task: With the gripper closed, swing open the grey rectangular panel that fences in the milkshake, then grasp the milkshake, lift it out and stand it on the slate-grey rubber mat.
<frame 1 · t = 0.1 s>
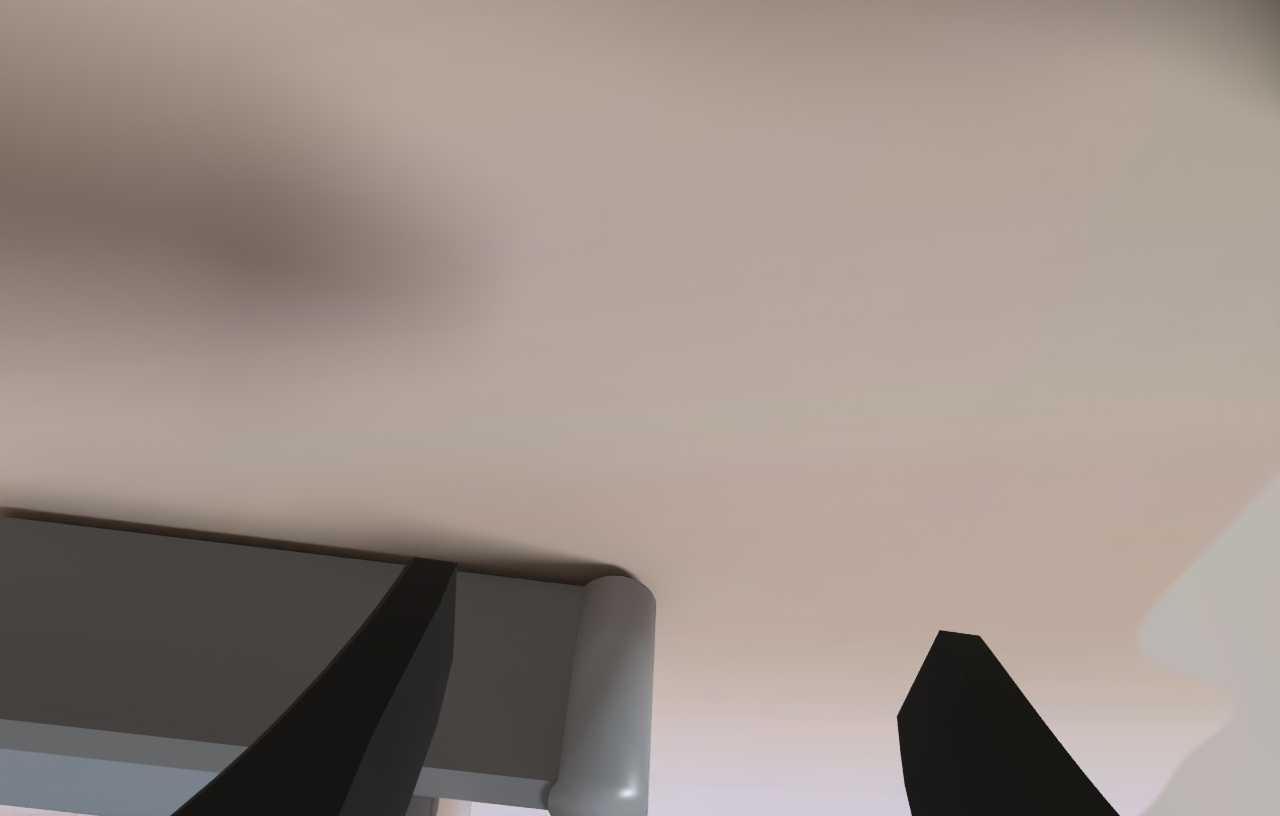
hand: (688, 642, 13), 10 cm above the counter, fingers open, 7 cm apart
mat: (142, 702, 31), on the counter
milkshake: (455, 658, 29), on the counter
grey rectangular panel: (286, 657, 23), point 4 cm above the counter, hinge at 0.0°
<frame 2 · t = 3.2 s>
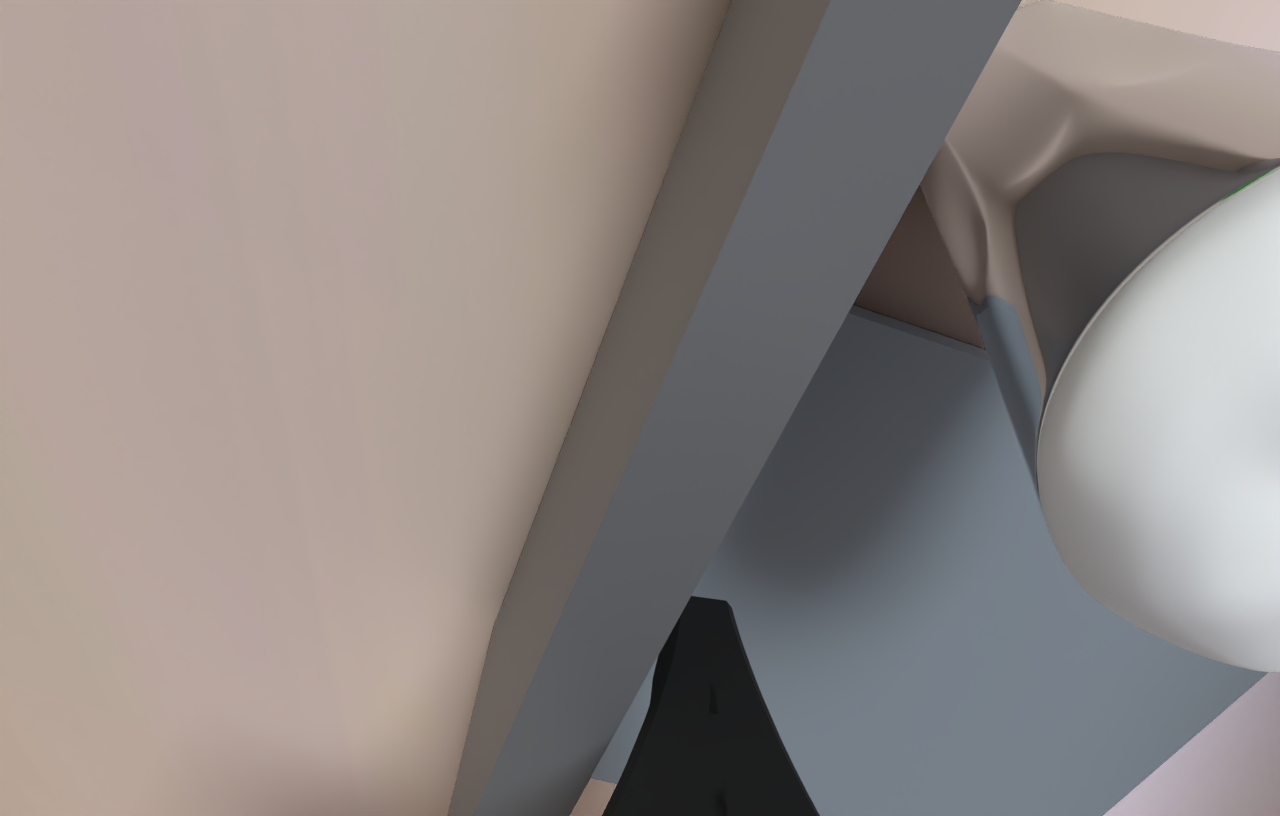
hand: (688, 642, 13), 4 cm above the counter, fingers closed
mat: (916, 642, 19), on the counter
milkshake: (1037, 91, 13), on the counter
grey rectangular panel: (680, 340, 11), point 4 cm above the counter, hinge at 0.7°, touching gripper
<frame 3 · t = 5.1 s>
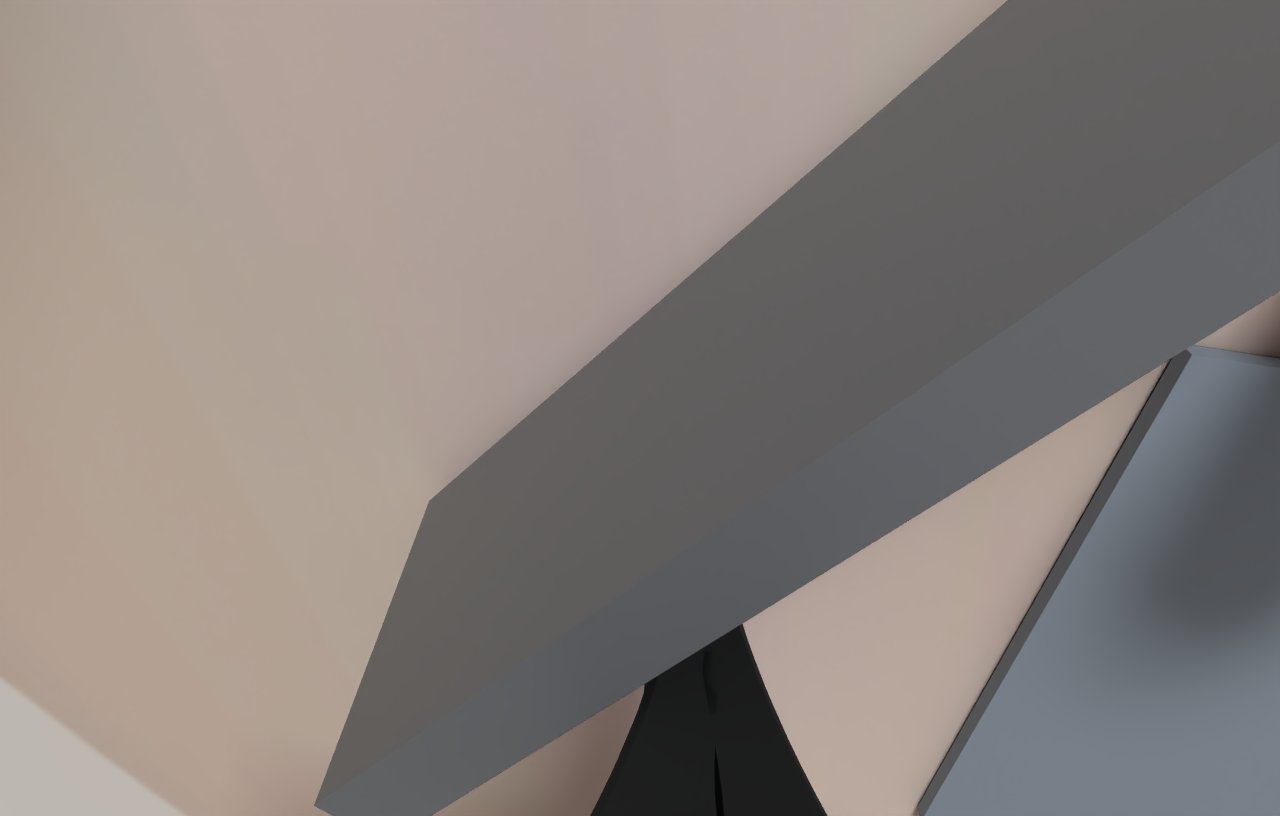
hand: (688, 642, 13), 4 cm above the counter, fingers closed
grey rectangular panel: (905, 270, 10), point 4 cm above the counter, hinge at 36.8°, touching gripper
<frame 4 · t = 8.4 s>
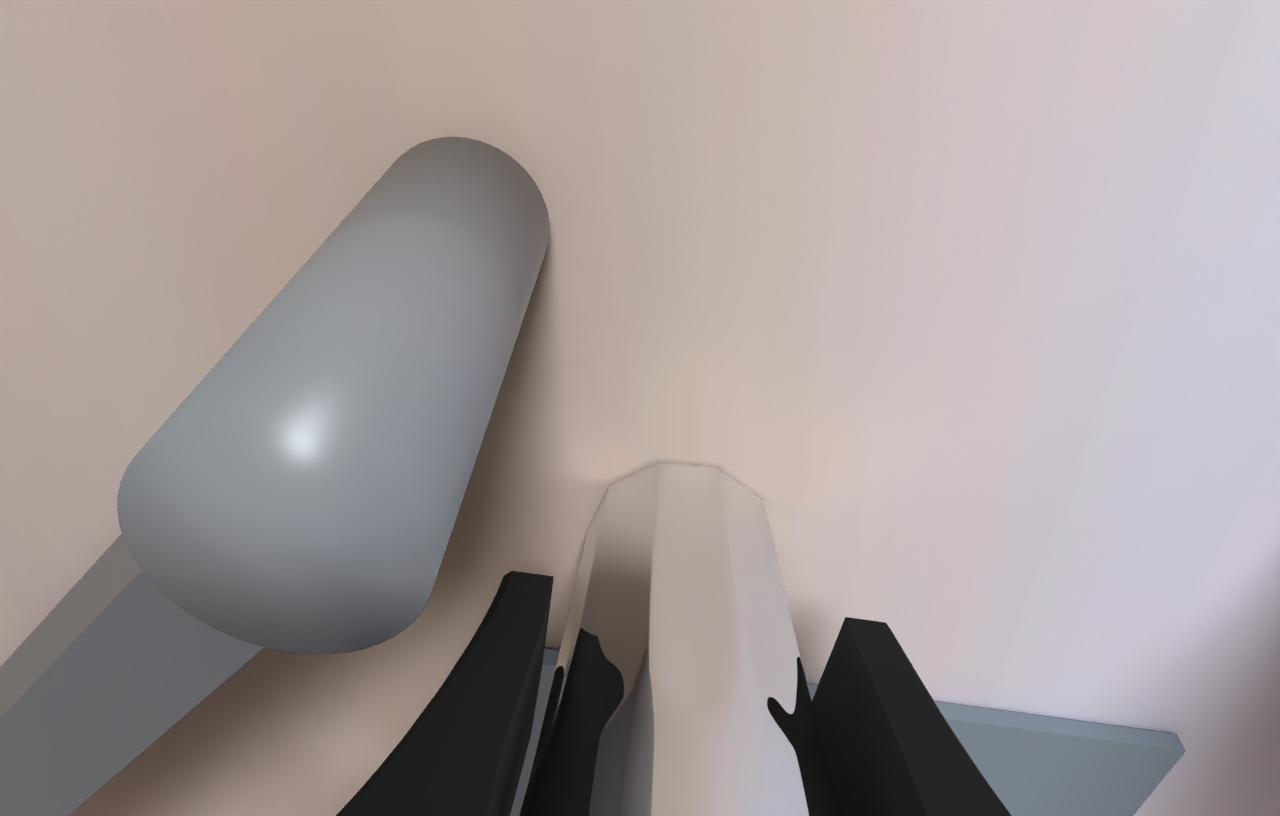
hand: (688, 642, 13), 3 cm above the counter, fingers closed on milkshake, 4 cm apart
milkshake: (689, 507, 16), on the counter, touching gripper
grey rectangular panel: (54, 687, 13), point 4 cm above the counter, hinge at 36.8°
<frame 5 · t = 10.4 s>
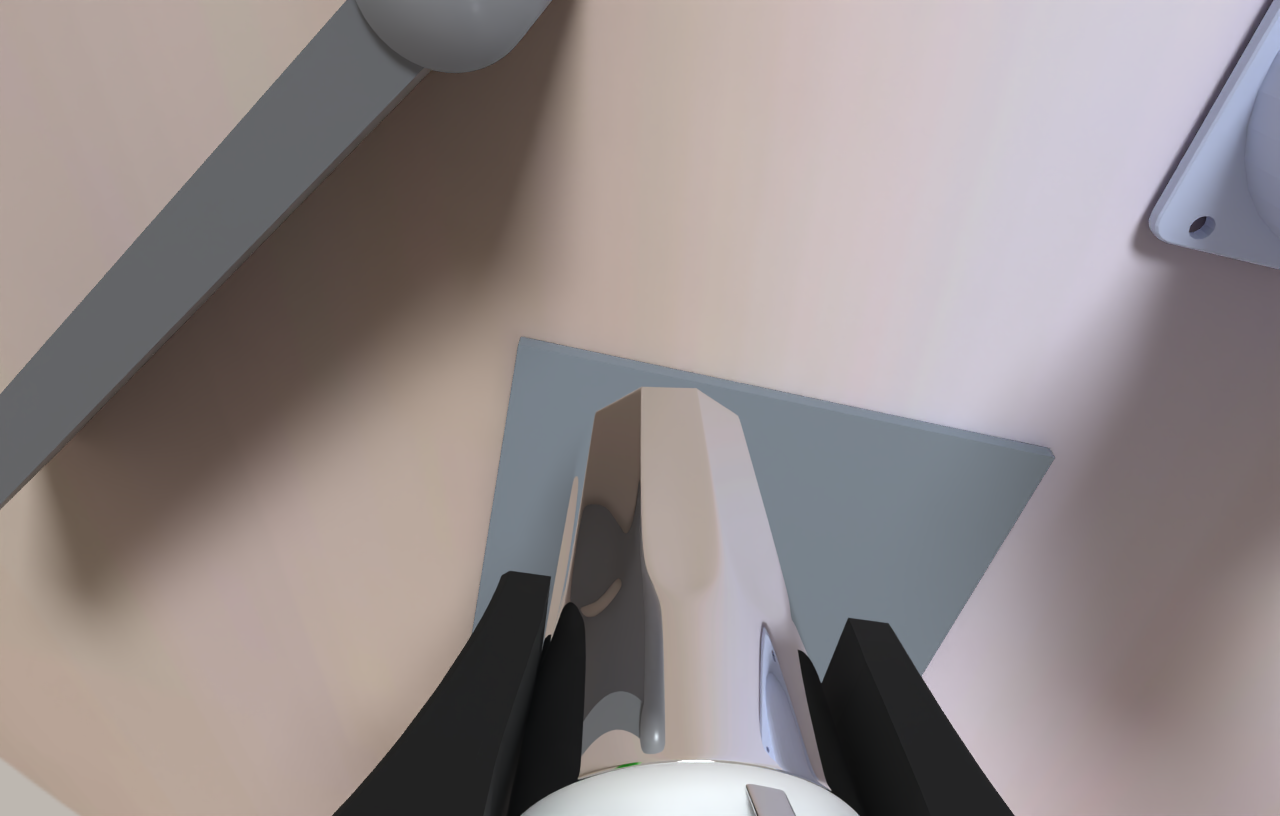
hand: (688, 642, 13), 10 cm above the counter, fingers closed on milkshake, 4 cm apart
mat: (719, 585, 26), on the counter
milkshake: (671, 428, 17), point 5 cm above the counter, touching gripper
grey rectangular panel: (183, 271, 17), point 4 cm above the counter, hinge at 36.8°
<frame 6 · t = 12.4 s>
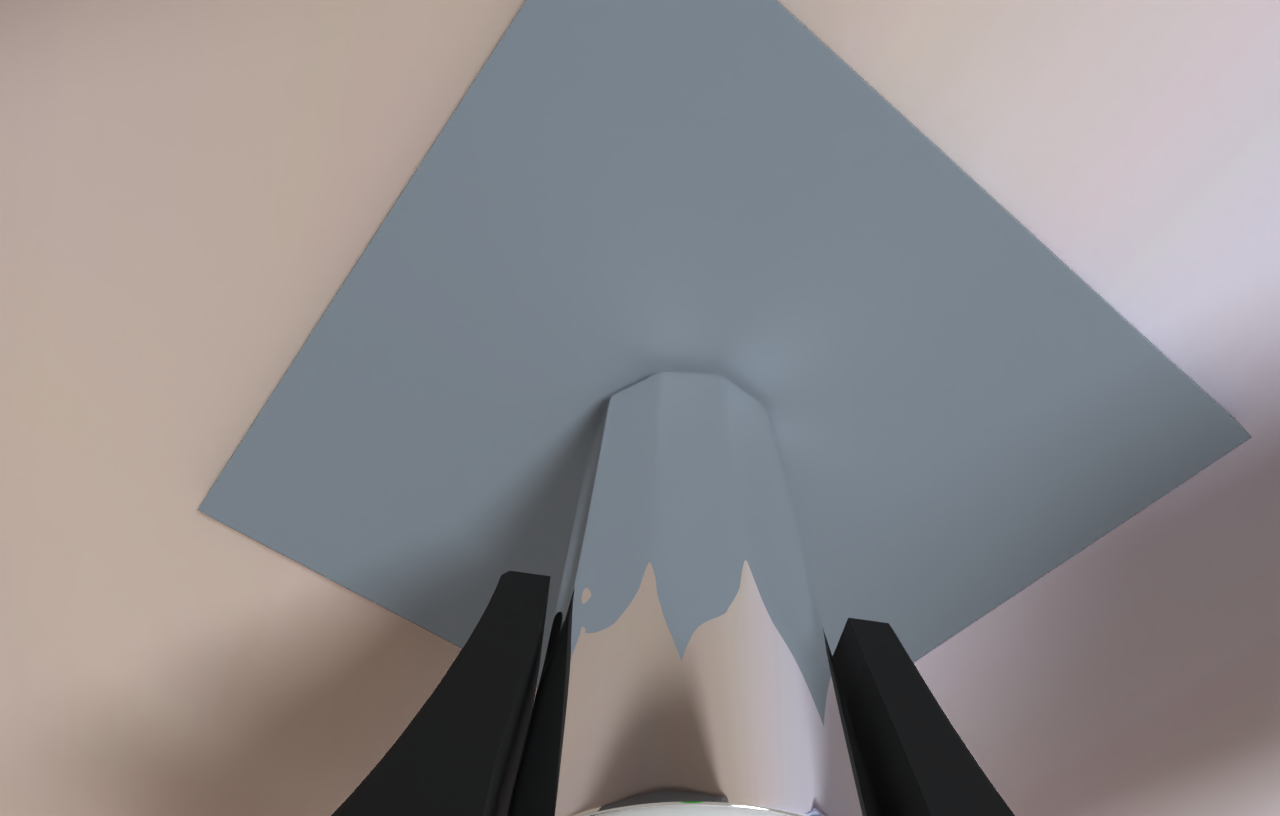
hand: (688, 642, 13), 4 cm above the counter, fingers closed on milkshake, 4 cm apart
mat: (690, 462, 17), on the counter
milkshake: (691, 416, 16), resting on mat, touching gripper
when the fingers open (4 cm above the counter, at t = 12.8 s): milkshake stays where it is, resting on mat.
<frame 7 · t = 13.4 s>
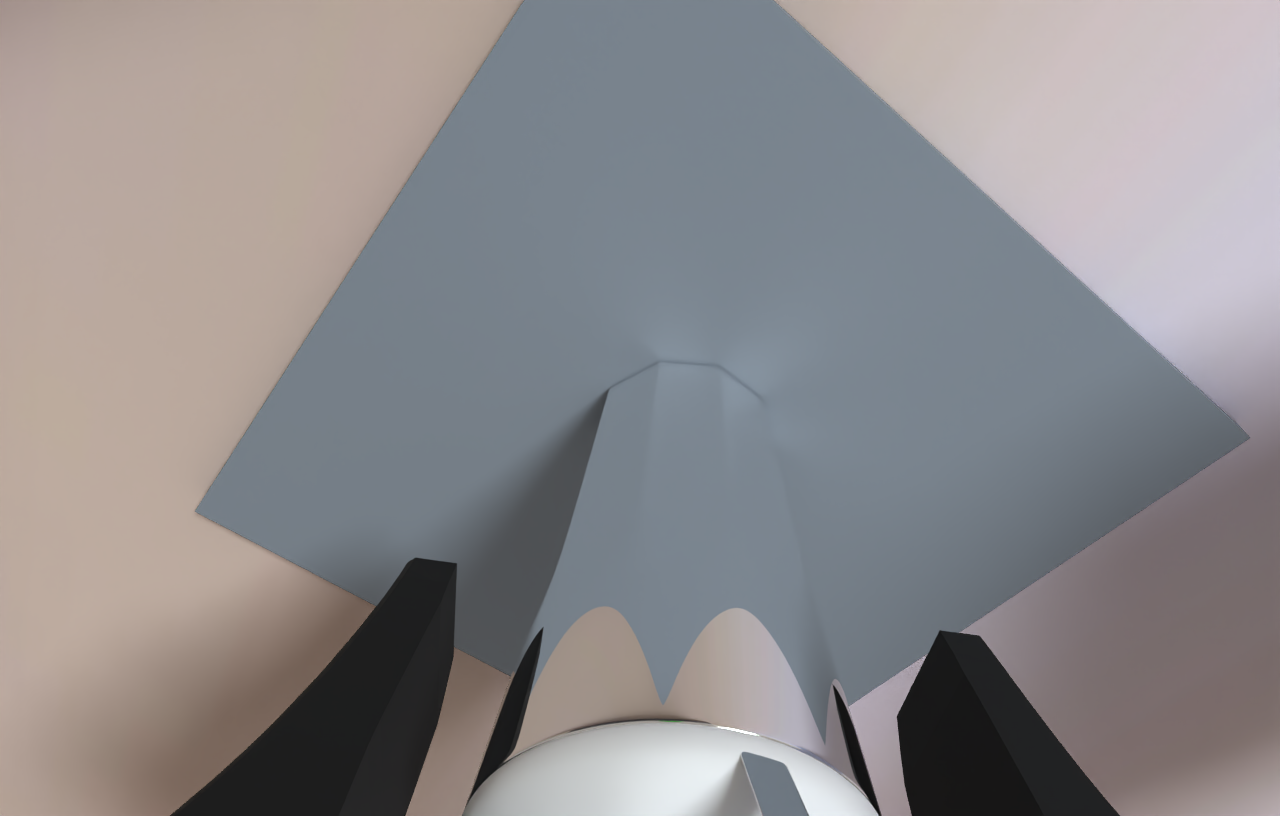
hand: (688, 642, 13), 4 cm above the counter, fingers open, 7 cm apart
mat: (688, 464, 17), on the counter
milkshake: (690, 412, 16), resting on mat
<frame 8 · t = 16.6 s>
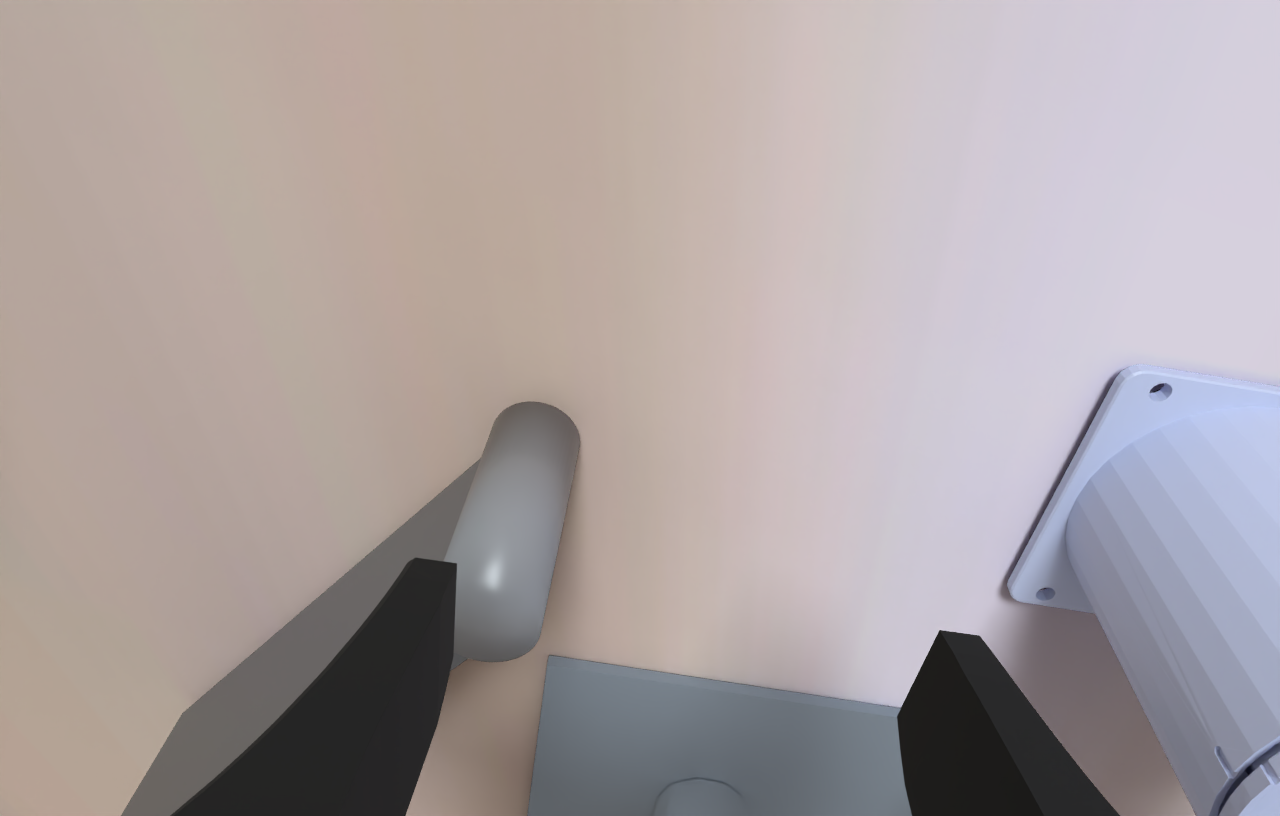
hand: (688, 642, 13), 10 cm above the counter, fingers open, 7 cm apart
mat: (716, 806, 33), on the counter
milkshake: (699, 791, 32), resting on mat
grey rectangular panel: (313, 676, 24), point 4 cm above the counter, hinge at 36.8°
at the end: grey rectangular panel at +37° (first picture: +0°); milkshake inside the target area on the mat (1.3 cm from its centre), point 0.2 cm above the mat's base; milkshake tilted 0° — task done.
